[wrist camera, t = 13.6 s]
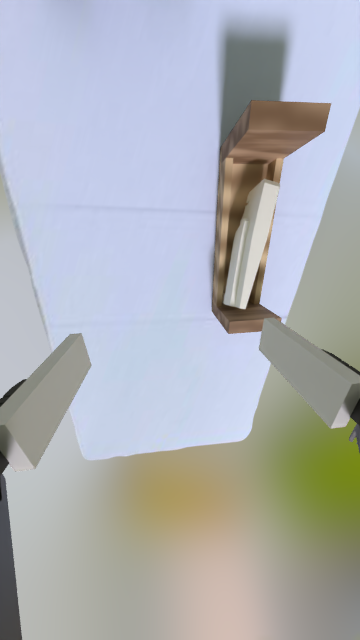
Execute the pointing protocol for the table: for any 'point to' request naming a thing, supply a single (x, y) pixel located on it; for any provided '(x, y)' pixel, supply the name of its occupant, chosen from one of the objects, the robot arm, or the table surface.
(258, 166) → the cradle
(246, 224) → the shelf bracket
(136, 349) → the table surface
